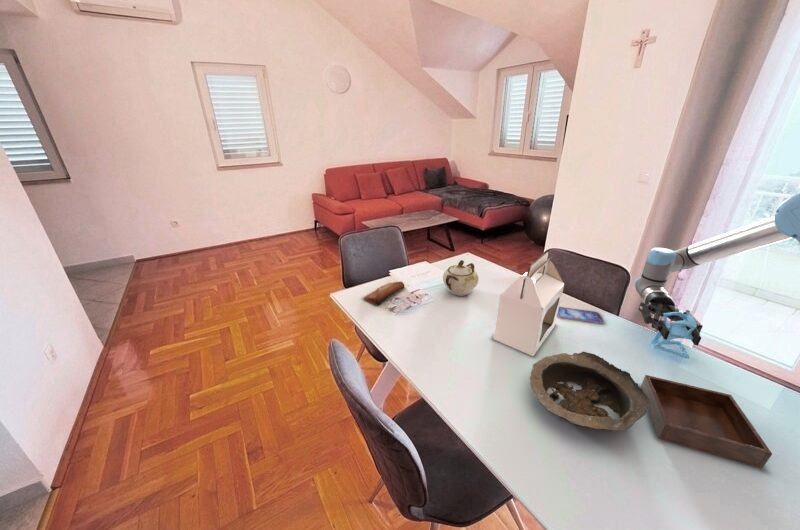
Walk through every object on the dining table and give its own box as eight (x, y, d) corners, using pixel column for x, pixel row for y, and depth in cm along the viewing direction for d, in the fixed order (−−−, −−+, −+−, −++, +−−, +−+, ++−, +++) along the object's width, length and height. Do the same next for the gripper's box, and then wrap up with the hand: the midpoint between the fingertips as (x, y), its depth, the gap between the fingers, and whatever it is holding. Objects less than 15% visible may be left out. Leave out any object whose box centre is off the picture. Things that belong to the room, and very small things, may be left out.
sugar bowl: (460, 306, 125) (463, 272, 119) (431, 293, 135) (432, 261, 129) (486, 289, 138) (490, 258, 132) (458, 279, 147) (460, 249, 141)
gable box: (532, 357, 97) (549, 276, 86) (492, 340, 105) (503, 264, 93) (554, 326, 112) (571, 253, 101) (518, 313, 120) (530, 244, 109)
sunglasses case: (389, 283, 142) (395, 273, 138) (400, 294, 140) (406, 284, 136) (362, 298, 129) (367, 289, 125) (373, 311, 127) (379, 301, 123)
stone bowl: (656, 416, 77) (668, 389, 72) (600, 477, 65) (610, 449, 61) (562, 358, 96) (567, 334, 91) (506, 397, 84) (509, 371, 80)
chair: (647, 338, 102) (659, 306, 97) (679, 344, 99) (693, 311, 94) (655, 352, 95) (668, 319, 90) (689, 359, 92) (705, 325, 87)
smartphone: (555, 306, 123) (598, 312, 119) (555, 308, 123) (597, 314, 119) (558, 316, 116) (604, 322, 112) (558, 318, 117) (603, 324, 113)
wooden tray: (722, 409, 79) (731, 394, 77) (761, 470, 65) (772, 454, 63) (639, 388, 85) (645, 374, 83) (658, 439, 71) (665, 424, 69)
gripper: (688, 316, 107) (720, 357, 88) (621, 304, 114) (637, 340, 95) (696, 297, 104) (731, 335, 85) (627, 286, 111) (645, 320, 92)
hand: (682, 338), depth 90 cm, fingers closed on chair, 6 cm apart
